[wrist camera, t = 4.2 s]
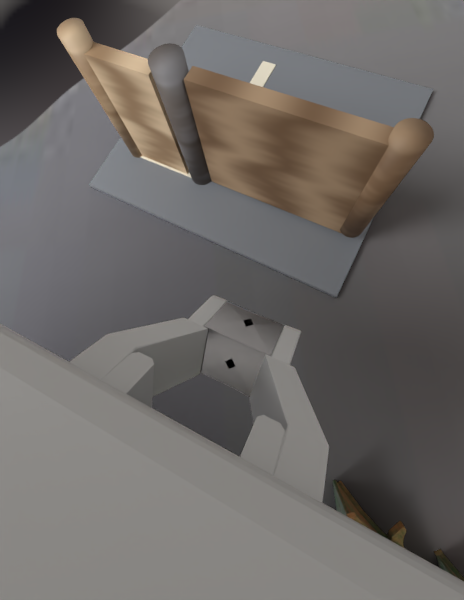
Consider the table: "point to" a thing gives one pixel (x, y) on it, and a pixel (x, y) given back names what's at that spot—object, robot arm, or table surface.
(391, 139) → the fence leaf
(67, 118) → the table surface
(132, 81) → the fixed fence
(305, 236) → the board
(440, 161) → the table surface
